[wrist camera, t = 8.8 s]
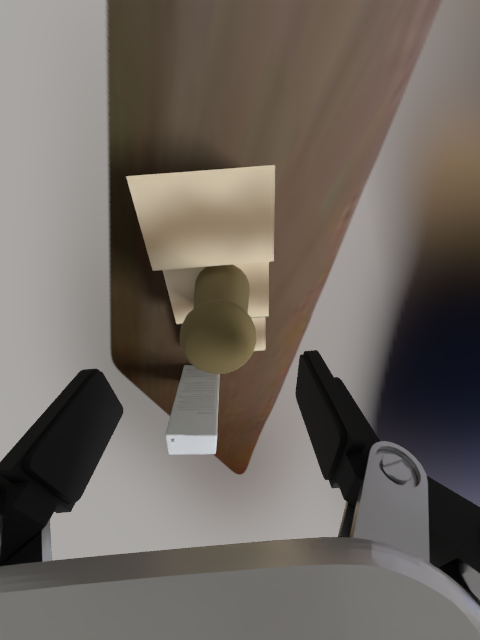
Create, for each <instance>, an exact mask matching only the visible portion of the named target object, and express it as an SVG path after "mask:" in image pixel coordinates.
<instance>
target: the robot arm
mask: <svg viewBox="0 0 480 640" xmlns="http://www.w3.org/2000/svg"><path fill="white" fill-rule="evenodd" d="M296 398H297V402H298V405H299V408H300V411H301V413H302V417H303V420H304V422H305V425H306V428H307V431H308V434H309V437H310V440H311V443H312V446H313V448H314V451H315V454H316V457H317V460H318V463H319V466H320V469H321V472H322V474H323V477H324V478H325V480H329V482H330V485H331V487H332V488H340V490H341V492H342V495H343V498H344V500H346V505H345V509H344V514H343V518H342V522H341V526H340V531H339V535H338V537H320V538H305V539H291V540H274V541H263V542H252V543H239V544H228V545H217V546H205V547H194V548H182V549H171V550H161V551H150V552H139V553H128V554H118V555H107V556H97V557H86V558H76V559H66V560H55V561H52V552H51V537H50V536H51V534H50V518H51V516H52V514H53V512H56V513H61V512H71V510H72V508H73V506H74V504H75V502H77V501H78V500H79V499H80V498H81V496H82V494H83V492H84V490H85V488H86V486H87V484H88V482H89V480H90V478H91V476H92V474H93V472H94V470H95V468H96V466H97V464H98V462H99V460H100V458H101V456H102V454H103V452H104V450H105V448H106V446H107V444H108V442H109V440H110V438H111V436H112V434H113V432H114V430H115V428H116V426H117V424H118V422H119V420H120V418H121V416H122V414H123V407H122V405H121V403H120V402H119V400H118V398H117V396H116V395H115V393H114V391H113V390H112V388H111V386H110V384H109V383H108V381H107V379H106V378H105V376H104V374H103V373H102V372H100V371H99V370H98V369H87V370H82V371H80V372H79V373H78V374H77V376H76V377H75V378H74V379H73V380H72V381H71V382H70V383H69V384H68V386H67V387H66V388H65V389H64V390H63V391H62V393H61V394H60V395H59V396H58V397H57V398H56V399H55V401H54V402H53V403H52V404H51V405H50V406H49V407H48V408H47V410H46V411H45V412H44V413H43V414H42V415H41V416H40V418H39V419H38V420H37V421H36V422H35V423H34V424H33V425H32V427H31V428H30V429H29V430H28V431H27V432H26V433H25V435H24V436H23V437H22V438H21V439H20V440H19V442H18V443H17V444H16V445H15V446H14V447H13V448H12V450H11V451H10V452H9V453H8V454H7V455H6V456H5V457H4V458H3V460H2V461H1V462H0V640H480V507H478V506H477V505H475V504H473V503H472V502H470V501H468V500H467V499H465V498H463V497H461V496H460V495H458V494H457V493H454V492H453V491H452V490H450V489H448V488H446V487H445V486H443V485H441V484H440V483H438V482H436V481H435V480H433V479H431V478H430V477H428V476H426V473H425V471H424V469H423V467H422V465H421V464H420V463H419V462H418V460H417V459H416V458H415V457H414V456H413V455H412V454H411V453H410V452H408V451H407V450H406V449H404V448H402V447H401V446H399V445H397V444H394V443H391V442H385V441H382V442H380V440H379V439H378V437H377V436H376V434H375V432H374V431H373V429H372V428H371V426H370V424H369V423H368V421H367V420H366V418H365V417H364V415H363V413H362V412H361V410H360V409H359V407H358V406H357V404H356V402H355V401H354V399H353V398H352V396H351V395H350V393H349V391H348V390H347V388H346V387H345V385H344V383H343V382H342V381H341V380H340V379H339V378H338V377H335V378H334V377H333V375H332V374H331V372H330V370H329V369H328V367H327V365H326V364H325V362H324V360H323V359H322V357H321V355H320V354H319V352H318V351H317V350H315V351H305V352H304V354H303V355H300V359H299V368H298V377H297V385H296Z"/></svg>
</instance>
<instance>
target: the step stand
mask: <svg viewBox="0 0 480 640" xmlns="http://www.w3.org/2000/svg"><path fill="white" fill-rule="evenodd" d="M126 178H127V182H128V185H129V189H130V192H131V196H132V199H133V203H134V206H135V210H136V213H137V217H138V221H139V224H140V228H141V231H142V235H143V238H144V242H145V245H146V249H147V252H148V256H149V259H150V263H151V266H152V270H153V271H157V270H163V274H164V278H165V282H166V286H167V290H168V293H169V297H170V301H171V305H172V309H173V313H174V317H175V320H176V324H182V323H183V322H184V320H185V318H186V316H187V314H188V313H189V312H190V311H192V310H193V307H194V290H195V282H196V279H197V277H198V275H199V273H200V272H201V271H202V270H203V269H204V268H205V267H207V266H219V265H232V264H233V265H235V266H236V267H238V268H239V269H241V270H242V271H243V273H244V274H245V275H246V277H247V279H248V282H249V287H250V294H249V304H248V315H249V316H250V317H251V319H252V321H253V323H254V326H255V329H256V345H255V348H254V351H260V350H265V317H268V316H269V262H270V261H274V200H275V165H270V166H256V167H243V168H230V169H216V170H203V171H189V172H176V173H163V174H149V175H136V176H126Z"/></svg>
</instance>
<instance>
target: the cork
mask: <svg viewBox="0 0 480 640" xmlns="http://www.w3.org/2000/svg"><path fill="white" fill-rule="evenodd" d="M249 294H250V287H249V282H248V279H247V277H246V275H245V274H244V273H243V271H242V270H241V269H239V268H238V267H236V266H235V265H233V264H232V265H219V266H207V267H205V268H204V269H203V270H202V271H201V272H200V273H199V275H198V277H197V279H196V282H195V290H194V307H193V310H192V311H190V312H189V313H188V314H187V316H186V318H185V320H184V322H183V323H182V326H181V329H180V345H181V349H182V352H183V354H184V355H185V357H186V358H187V359H188V361H189V362H190V363H191V364H192V365H193V366H195V367H196V368H197V369H199V370H202V371H204V372H207V373H213V374H223V373H229V372H232V371H235V370H237V369H238V368H240V367H241V366H243V365H244V364H245V363H246V362H247V361H248V359H249V358H250V357H251V356H252V354H253V351H254V348H255V345H256V329H255V326H254V323H253V321H252V319H251V317H250V316H249V315H248V304H249Z"/></svg>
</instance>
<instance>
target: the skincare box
mask: <svg viewBox="0 0 480 640" xmlns="http://www.w3.org/2000/svg"><path fill="white" fill-rule="evenodd" d="M219 376H220V374H213V373H207V372H204V371H202V370H199V369H197V368H196V367H195V366H193V365H184V368H183V371H182V375H181V379H180V383H179V386H178V390H177V393H176V397H175V401H174V405H173V408H172V412H171V416H170V420H169V423H168V427H167V430H166V434H165V437H166V442H167V446H168V453H169V455H175V454H215V453H216V445H217V425H218V399H219Z"/></svg>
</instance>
